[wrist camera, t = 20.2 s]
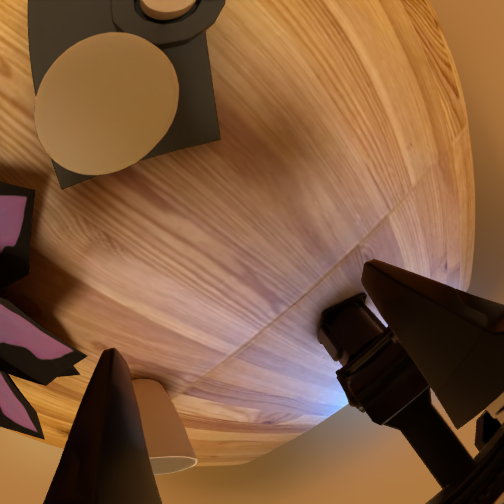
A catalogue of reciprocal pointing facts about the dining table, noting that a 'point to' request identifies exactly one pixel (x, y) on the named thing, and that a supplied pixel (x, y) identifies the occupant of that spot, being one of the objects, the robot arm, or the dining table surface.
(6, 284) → the decorative flower
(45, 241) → the dining table surface
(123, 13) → the dark flat slab piece
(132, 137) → the pill bottle
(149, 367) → the dining table surface
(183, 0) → the button
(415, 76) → the dining table surface
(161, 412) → the cup
